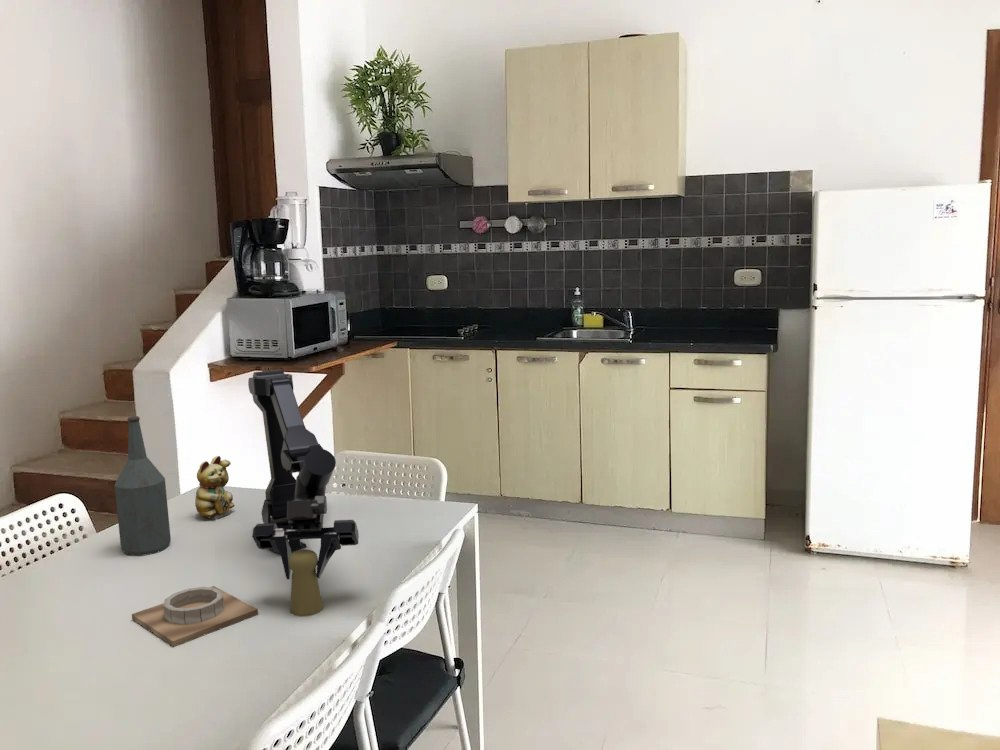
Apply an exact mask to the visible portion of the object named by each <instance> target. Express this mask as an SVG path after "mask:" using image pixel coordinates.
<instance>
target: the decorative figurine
mask: <svg viewBox="0 0 1000 750" xmlns="http://www.w3.org/2000/svg"><path fill="white" fill-rule="evenodd" d="M221 459H222V458H221V456H220V455H216V456H214V457H212V459H211V461H210V463H209V461H206V460H205V461H203V462H202V463H201V464H200V465H199V468H198V469H197V472H196V479H197V481H198V482H199V483H198V484H199V485H198V486H199V487H198V488H197V490H196V492H195V502H194V503H195V509H196V512H197V513H198V515H199V516H203V517H204V518H209V519H210V520H211V519H212V520H218V519H221V518H224V517H226V516H228V515H231V513H230V512H231V511H230V509H233V508H234V507H235V503H234V502H233V500H234V497H233V496H234V495H233V493H232V492H231V491H229V490H226V489H225V486H227V484H228V483H229V480H230V479H229V473H228V470H227V468H228V467H229V466H231V464H232V462H231V461H230V460H228V459H222V460H221Z"/></svg>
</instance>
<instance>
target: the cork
mask: <svg viewBox="0 0 1000 750" xmlns="http://www.w3.org/2000/svg"><path fill="white" fill-rule="evenodd" d="M318 558H319V556H318V554H317V553H316V552H315V551H314V550H311V549H298V550H295V551H293V552H291V555H290V557H289V567H290V569H291V571H292V575H291V588H290V589H291V591H290V602H289V603H290V604H289V605H290V606H289V613H290V615H292V614H293V616H295V617H308V616H314V615H316V614H318V613H320V612H322V611H323V609H324V604H323V600H322V599H323V598H322V595H321V589H320V585H319V584H320V583H319V580H318V579H319V578H317V564H318ZM321 610H322V611H321Z"/></svg>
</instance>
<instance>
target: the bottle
mask: <svg viewBox="0 0 1000 750" xmlns="http://www.w3.org/2000/svg"><path fill="white" fill-rule="evenodd" d="M140 419H141V418H140V416H137V415H134V416H129V417H128V418H127V419H126V420H127V421H128V439H127V441H128V446H127V447H128V448H127V449H128V451H127V453H128V457H127V460H126V462H125V465H124V466H123V468H122V471H121V472H120V474H119V476H118V478H117V479H116V481H115V484H114V493H115V504H116V505H115V506H116V513H117V515H116V516H117V524H118V531H119V541H120V549H121V550H122V552H124V553H125V554H127V555H128V554H129V555H128V556H145V554H146V555H151V554H150V553H152V554H155V553H159V552H162V551H163V550H165V549H166V548H168V547H169V546H170V544H171V539H172V538H171V537H172V536H171V528H170V517H169V516H170V515H169V508H168V505H169V504H168V498H167V497H168V496H167V488H166V487H167V485H166V478H165V476H164V475H163V474H162V473H161V472H160V470H159V469H158V468H157V467H156V465H154V464H153V462H152V461H151V460H150V458H148V457H147V456H148V455H147V453H146V452H147V451H146V447H145V443H144V442H145V441H144V438H143V433H142V429H141V425H140V424H141V423H140ZM161 550H162V551H161ZM158 551H159V552H158Z"/></svg>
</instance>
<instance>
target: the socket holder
mask: <svg viewBox="0 0 1000 750" xmlns="http://www.w3.org/2000/svg"><path fill="white" fill-rule="evenodd" d="M258 615H259V609H258V608H257V607H256V606H255V607H254V606H253V605H251V604H250V603H249V604H248V603H247V602H245V601H244V600H241V599H239V598H237V597H235V596H233V594H230V593H228V592H227V591H224V590H222V589H220V588H219V587H216V586H215V585H212V586H209V587H208V586H198V587H191V588H186V589H183V590H180V591H177V592H175V593H172V594H171V595H170V596H168V597H167V598H165V599H164V601H163V603H161V604H158V605H154V606H152V607H148V608H146V609H142V610H140V611H137V612H134V613H131V620H132V619H133V622H135V621H136V622H135V623H137V624H138V623H139V625H140V626H141V625H142V628H144V627H145V628H144V629H146V628H147V629H148V630H147V629H146V630H147V631H149V630H150V631H151V633H152V632H153V633H154V634H153V633H152V634H153V635H155V636H156V635H157V636H156V637H158V638H159V637H160V639H161V640H162V639H163V640H162V641H164V642H165V641H166V643H167V644H168V645H169V646H171V647H177V646H179V645H181V644H184V643H186V642H190V641H192V640H194V639H197V638H200V637H202V636H205V635H207V633H208V634H211V633H213V632H216V631H218V630H221V629H223V628H226V627H228V626H231V625H235V624H236V623H239V622H241V621H245V620H247V619H249V618H251V617H255V616H258ZM220 628H221V629H220ZM215 630H216V631H215ZM150 631H149V632H150ZM210 632H211V633H210ZM204 634H205V635H204Z"/></svg>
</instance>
